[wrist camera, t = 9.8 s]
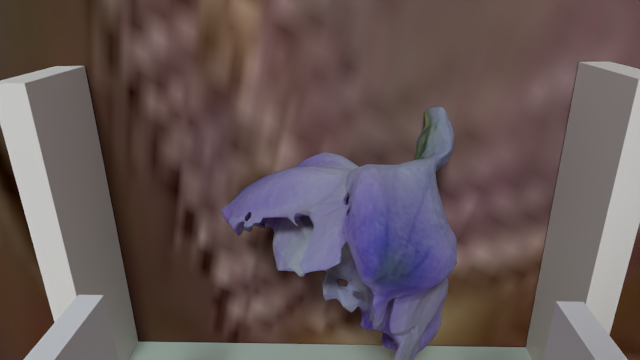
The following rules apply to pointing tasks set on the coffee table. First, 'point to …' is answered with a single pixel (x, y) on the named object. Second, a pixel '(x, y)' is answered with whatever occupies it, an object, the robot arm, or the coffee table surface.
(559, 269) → the bay
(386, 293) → the flower
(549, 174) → the coffee table surface
